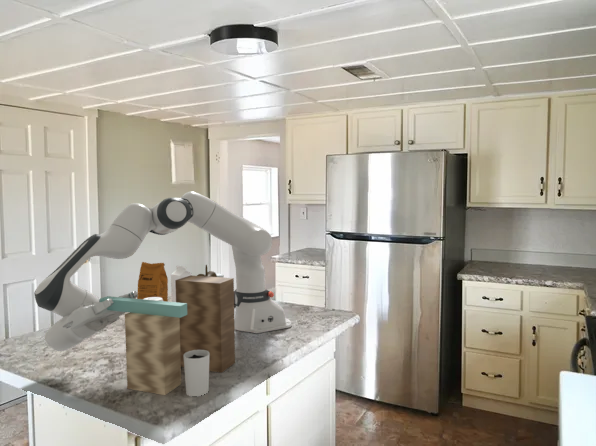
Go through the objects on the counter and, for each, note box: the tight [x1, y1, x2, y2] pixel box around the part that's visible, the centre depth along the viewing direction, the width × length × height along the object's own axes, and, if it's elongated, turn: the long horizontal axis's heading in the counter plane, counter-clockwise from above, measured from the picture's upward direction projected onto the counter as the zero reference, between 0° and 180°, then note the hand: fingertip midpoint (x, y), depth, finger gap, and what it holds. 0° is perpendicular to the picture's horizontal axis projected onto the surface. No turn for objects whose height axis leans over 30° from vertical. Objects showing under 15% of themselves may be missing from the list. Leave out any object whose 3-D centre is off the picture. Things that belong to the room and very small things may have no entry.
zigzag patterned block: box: [124, 312, 182, 396], centre depth 121 cm, size 12×7×20 cm, turn 70°
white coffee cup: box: [183, 350, 210, 397], centre depth 118 cm, size 7×7×10 cm
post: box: [175, 274, 236, 373], centre depth 136 cm, size 15×8×26 cm, turn 70°
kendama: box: [196, 264, 217, 277], centre depth 201 cm, size 6×10×20 cm, turn 160°
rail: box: [99, 295, 187, 318], centre depth 121 cm, size 26×3×3 cm, turn 70°
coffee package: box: [136, 261, 169, 302], centre depth 196 cm, size 10×12×22 cm
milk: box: [170, 265, 193, 302], centre depth 185 cm, size 6×6×22 cm
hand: (123, 297), depth 123 cm, fingers open, 8 cm apart
